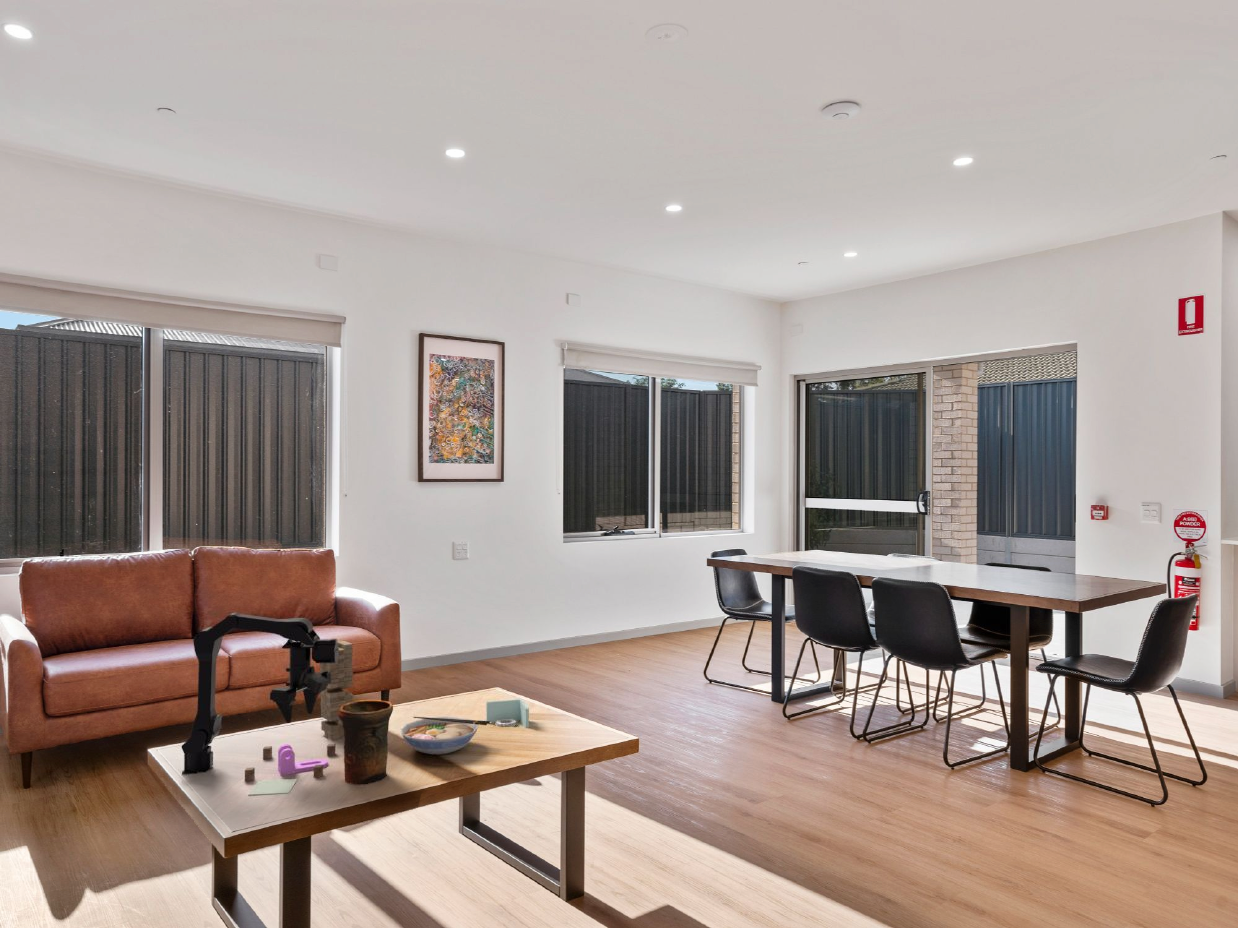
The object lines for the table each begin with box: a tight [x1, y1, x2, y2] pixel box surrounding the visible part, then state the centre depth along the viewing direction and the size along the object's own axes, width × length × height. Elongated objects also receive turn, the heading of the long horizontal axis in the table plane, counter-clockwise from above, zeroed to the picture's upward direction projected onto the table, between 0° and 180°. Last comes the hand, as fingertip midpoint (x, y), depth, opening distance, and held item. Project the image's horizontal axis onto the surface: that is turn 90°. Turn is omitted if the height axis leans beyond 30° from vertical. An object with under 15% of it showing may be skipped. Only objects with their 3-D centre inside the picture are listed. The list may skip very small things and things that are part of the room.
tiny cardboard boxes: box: [244, 743, 336, 782], centre depth 245 cm, size 20×20×3 cm
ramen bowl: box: [400, 716, 491, 755], centre depth 258 cm, size 25×23×8 cm
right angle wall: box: [485, 698, 530, 729], centre depth 283 cm, size 12×12×8 cm
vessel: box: [338, 699, 394, 786], centre depth 236 cm, size 14×14×20 cm
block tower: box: [319, 640, 354, 741], centre depth 274 cm, size 8×8×29 cm
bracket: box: [277, 743, 329, 776], centre depth 244 cm, size 13×6×7 cm, turn 118°
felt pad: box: [247, 778, 299, 797], centre depth 229 cm, size 10×10×1 cm
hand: (299, 717), depth 247 cm, fingers open, 9 cm apart
